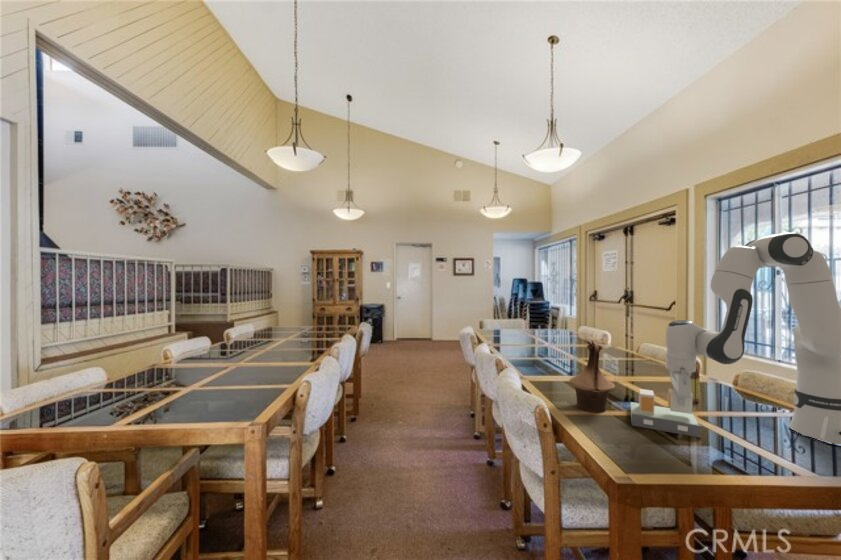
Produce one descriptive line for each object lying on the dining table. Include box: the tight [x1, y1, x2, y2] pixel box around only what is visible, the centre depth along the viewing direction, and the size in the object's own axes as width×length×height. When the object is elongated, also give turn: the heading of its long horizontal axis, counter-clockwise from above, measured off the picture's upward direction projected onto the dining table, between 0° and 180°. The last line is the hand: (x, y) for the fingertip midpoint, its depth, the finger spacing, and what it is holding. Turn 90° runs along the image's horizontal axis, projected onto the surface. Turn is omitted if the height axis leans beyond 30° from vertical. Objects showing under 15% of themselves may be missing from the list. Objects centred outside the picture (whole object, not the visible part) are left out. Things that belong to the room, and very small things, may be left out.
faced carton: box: [638, 388, 655, 414], centre depth 136 cm, size 4×7×7 cm, turn 151°
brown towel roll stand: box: [568, 339, 616, 413], centre depth 146 cm, size 18×17×28 cm
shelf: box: [629, 401, 702, 439], centre depth 132 cm, size 20×17×4 cm
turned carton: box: [667, 388, 693, 414], centre depth 131 cm, size 4×7×7 cm, turn 61°
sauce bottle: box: [690, 367, 701, 403], centre depth 154 cm, size 6×6×20 cm
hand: (680, 402), depth 131 cm, fingers closed on turned carton, 4 cm apart
